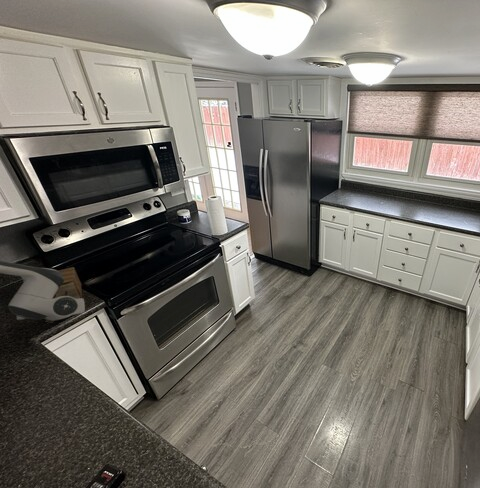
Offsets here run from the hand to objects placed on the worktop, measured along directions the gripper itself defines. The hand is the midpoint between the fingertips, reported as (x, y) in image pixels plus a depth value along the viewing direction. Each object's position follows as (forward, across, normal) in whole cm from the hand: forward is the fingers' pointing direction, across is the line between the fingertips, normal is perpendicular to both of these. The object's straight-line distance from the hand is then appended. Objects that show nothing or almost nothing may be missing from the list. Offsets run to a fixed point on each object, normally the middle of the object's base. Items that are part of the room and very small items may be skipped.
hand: (49, 311), depth 116 cm
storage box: (+18, +9, +8) cm, 21 cm away
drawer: (+13, +7, +6) cm, 16 cm away
